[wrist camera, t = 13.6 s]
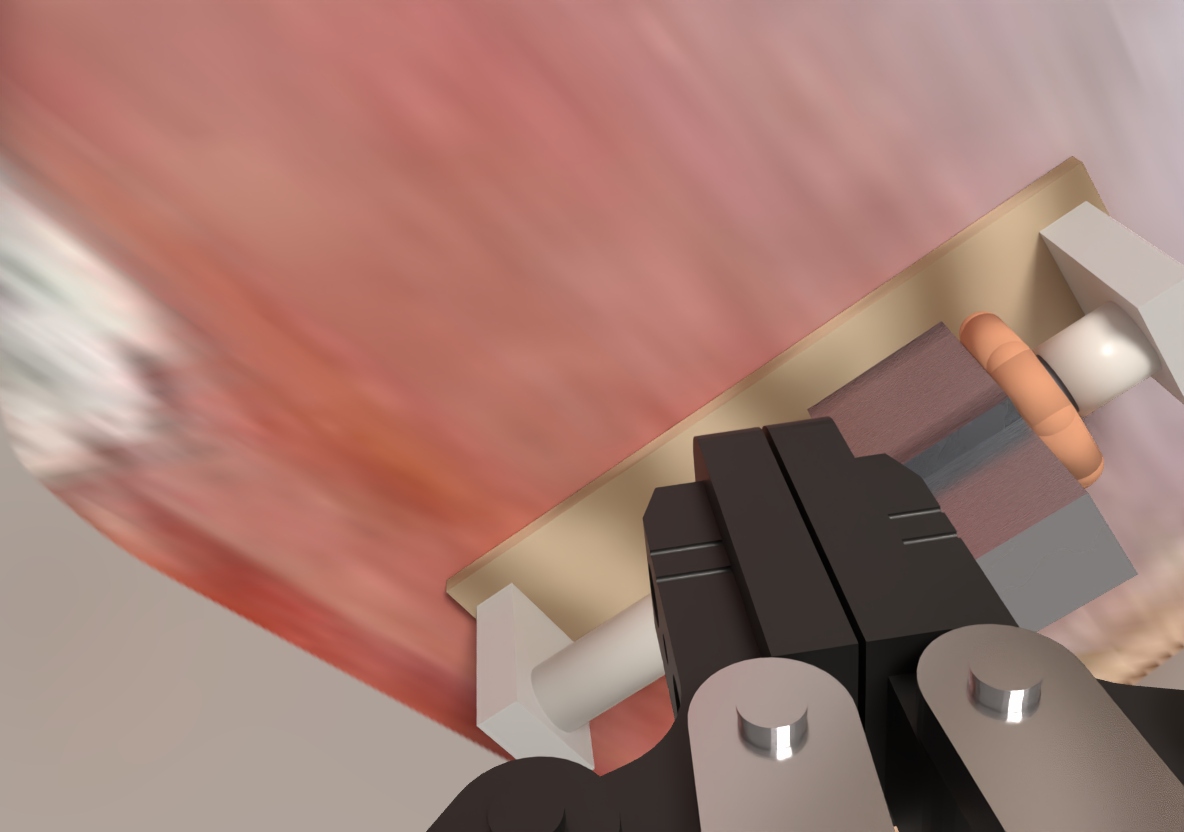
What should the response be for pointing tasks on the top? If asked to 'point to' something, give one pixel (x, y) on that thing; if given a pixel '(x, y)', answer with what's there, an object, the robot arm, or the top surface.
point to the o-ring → (1033, 393)
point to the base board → (787, 402)
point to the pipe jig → (628, 640)
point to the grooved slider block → (984, 475)
